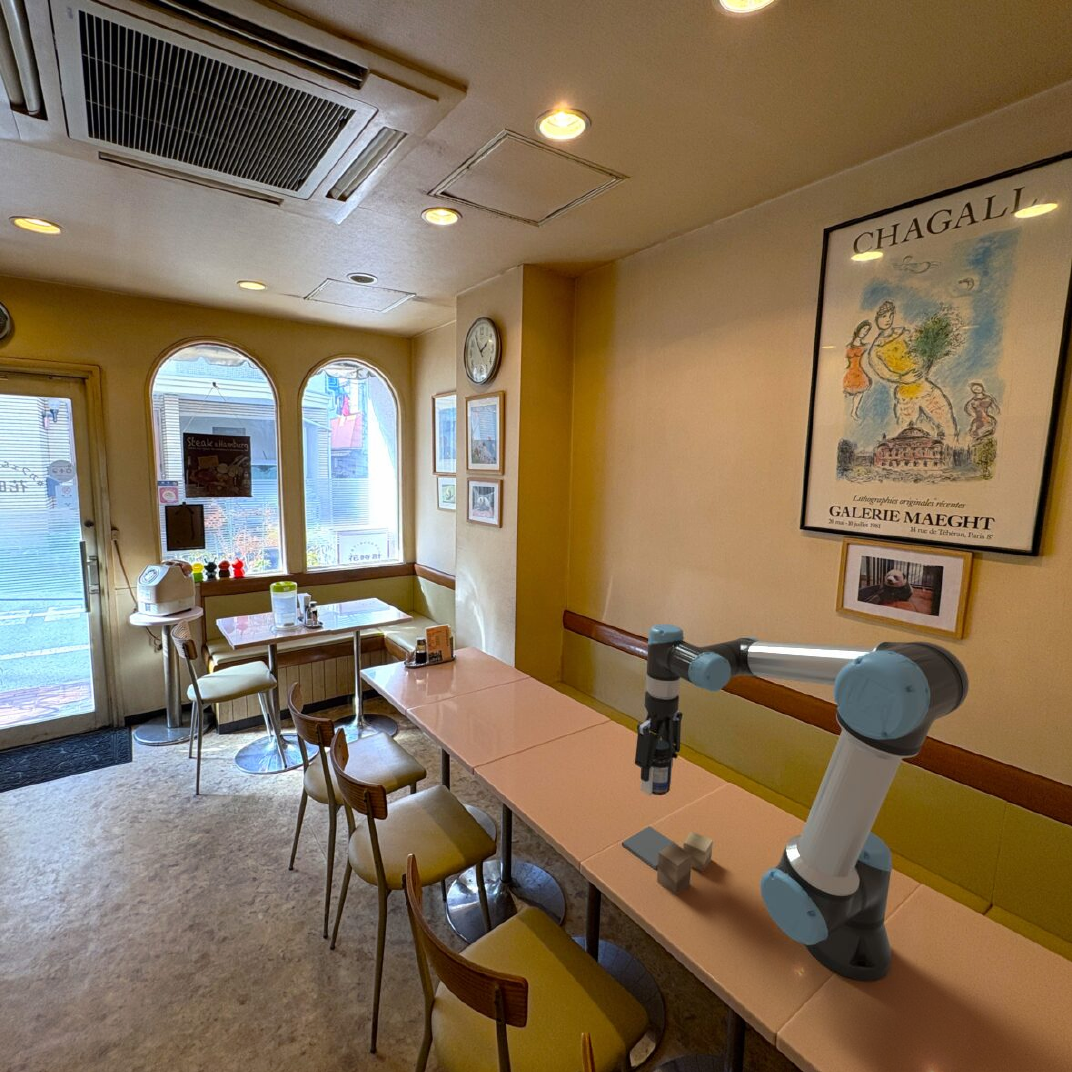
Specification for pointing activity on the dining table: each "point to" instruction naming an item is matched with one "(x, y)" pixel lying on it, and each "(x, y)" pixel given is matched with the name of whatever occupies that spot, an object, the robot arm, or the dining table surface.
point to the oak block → (699, 850)
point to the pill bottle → (661, 769)
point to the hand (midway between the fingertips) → (655, 787)
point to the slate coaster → (647, 845)
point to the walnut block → (674, 868)
